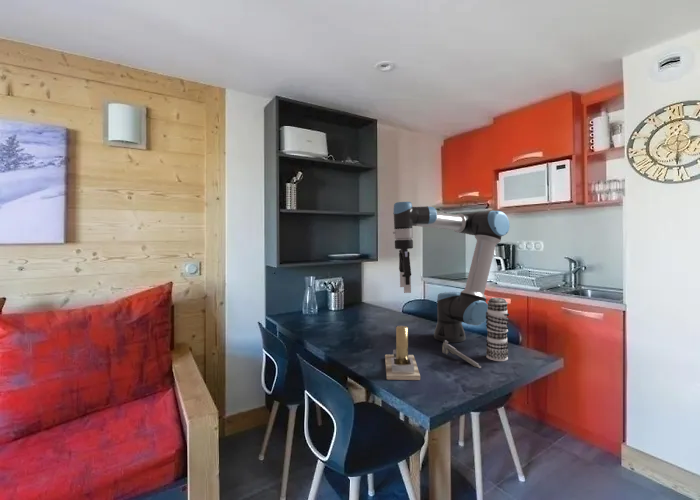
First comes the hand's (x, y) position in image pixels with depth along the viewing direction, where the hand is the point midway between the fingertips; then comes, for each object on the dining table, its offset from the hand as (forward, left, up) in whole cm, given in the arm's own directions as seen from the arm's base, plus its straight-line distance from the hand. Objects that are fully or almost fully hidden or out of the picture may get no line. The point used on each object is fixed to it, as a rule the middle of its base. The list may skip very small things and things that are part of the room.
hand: (405, 289), depth 147 cm
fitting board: (+3, +12, -29) cm, 31 cm away
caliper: (-22, +2, -30) cm, 37 cm away
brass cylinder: (+3, +16, -28) cm, 32 cm away
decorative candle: (-38, -1, -29) cm, 48 cm away
